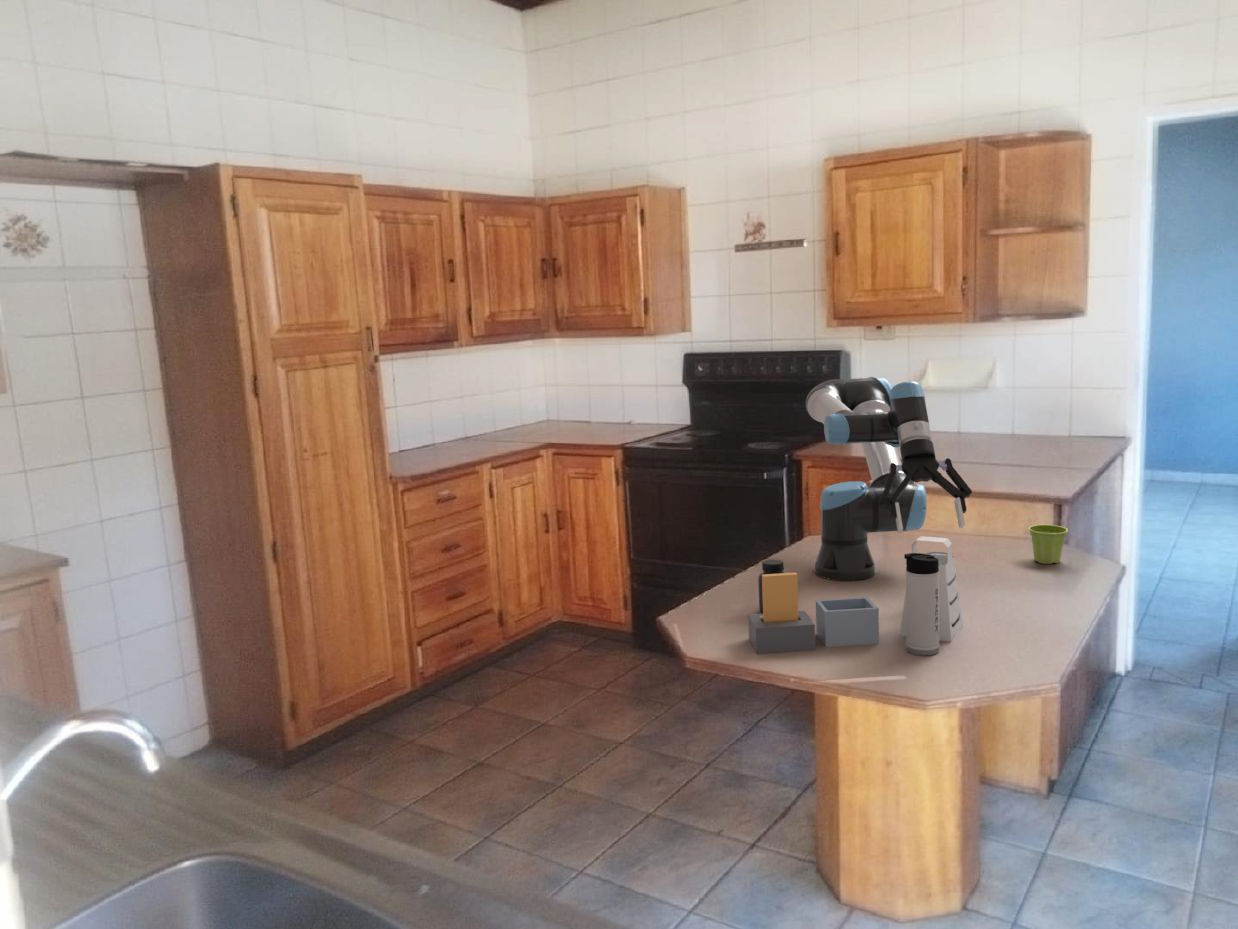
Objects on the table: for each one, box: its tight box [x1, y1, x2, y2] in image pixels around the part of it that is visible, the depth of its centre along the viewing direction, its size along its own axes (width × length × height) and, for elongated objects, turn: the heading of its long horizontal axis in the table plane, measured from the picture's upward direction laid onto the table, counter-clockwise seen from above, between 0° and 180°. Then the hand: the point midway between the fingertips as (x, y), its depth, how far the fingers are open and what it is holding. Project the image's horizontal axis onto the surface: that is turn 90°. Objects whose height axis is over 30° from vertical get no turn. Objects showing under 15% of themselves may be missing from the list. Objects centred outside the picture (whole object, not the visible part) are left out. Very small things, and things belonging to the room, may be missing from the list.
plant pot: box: [1027, 524, 1069, 565], centre depth 253 cm, size 9×9×9 cm
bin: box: [815, 596, 880, 648], centre depth 203 cm, size 8×11×8 cm
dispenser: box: [747, 610, 816, 655], centre depth 201 cm, size 12×9×6 cm
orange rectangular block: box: [762, 572, 799, 622], centre depth 201 cm, size 7×2×15 cm, turn 92°
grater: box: [899, 535, 964, 643], centre depth 205 cm, size 10×10×20 cm
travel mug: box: [904, 552, 940, 657], centre depth 194 cm, size 6×7×20 cm
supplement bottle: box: [757, 558, 786, 614], centre depth 224 cm, size 7×7×12 cm
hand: (931, 529), depth 220 cm, fingers open, 13 cm apart
